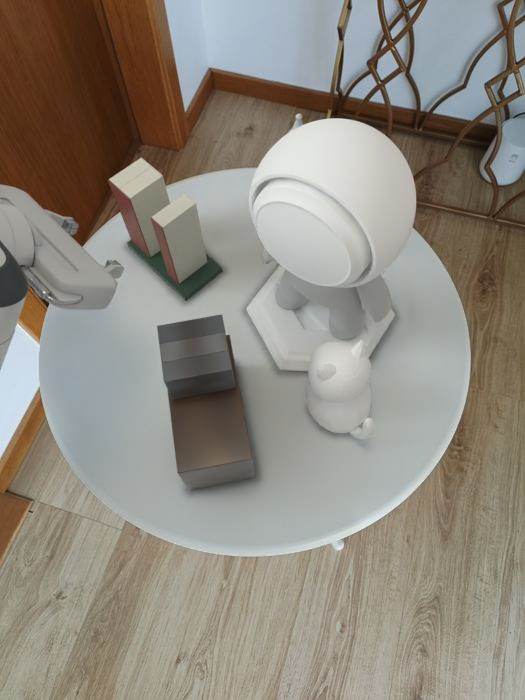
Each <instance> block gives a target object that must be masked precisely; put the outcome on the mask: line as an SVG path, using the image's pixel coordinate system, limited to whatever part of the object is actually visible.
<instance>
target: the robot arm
mask: <svg viewBox="0 0 525 700" xmlns="http://www.w3.org/2000/svg"><path fill="white" fill-rule="evenodd" d="M79 228H80V224H79V223H78V222H77V221H76V220H75V219H74V218H73V217H72V216H62V215H61V214H58V213H55V212H53V211H51V210H49V209H45V208H43V207H42V206H41V205H40V204H39V203H38V202H37V201H36V200H35V199H34V198H33V197H32V196H31V195H30V194H29V193H28V192H26V191H25V190H22V189H20V188H18V187H15V186H11V185H7V184H1V183H0V371H1V370H2V368H3V366H4V365H3V364H4V363H5V362H4V361H5V358H6V356H7V354H8V351H9V348H10V345H11V342H12V340H13V337H14V336H15V335H14V334H15V332H16V328H17V325H18V323H19V319H20V317H21V314H22V312H23V308H24V305H25V303H26V299H27V294H28V292H29V286H30V287H31V288H32V289H33V290H34V292H35V293H36V295H37V296H38V297H39V298H41V299H42V300H44V301H46V302H47V303H48V304H50V305H51V306H53V307H56V308H59V309H63V310H71V311H72V310H73V311H98V310H99V311H100V310H105V309H107V308H108V307H109V305H110V304H111V302H112V301H113V299H114V296H115V294H116V291H117V288H118V281H117V279H120V278H121V277H122V275H123V274H124V273H123V272H124V271H125V267H124V266H123V265H122V264H121V263H120V262H119V261H117V260H116V259H114V260H113V259H107V260H106V262H105V265H103V264H100V263H99V262H98V261H97V260H96V259H95V258H94V257H93V256H92V255H91V254H90V253H89V252H88V251H87V250H86V249H85V248H84V247H83V246H82V245H81V244H80V243H79V242H78V241H77V240H76V239H74V237H72V236H74V235H76V234H77V233H78V229H79Z"/></svg>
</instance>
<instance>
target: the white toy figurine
mask: <svg viewBox="0 0 525 700" xmlns="http://www.w3.org/2000/svg"><path fill="white" fill-rule="evenodd" d="M288 132H289V131H288ZM288 132H287V133H286V134H285V135H284V136H282V137H281V138H280V139H278V140H277V141H276V142H275V143H274V144H273V145H272V147H270V149H269V150H268V151H267V152H266V154H265V155H264V157H262V159H261V161H260V163H259V164H258V166H257V168H256V170H255V172H254V175H253V176H252V181H251V183H250V187H249V192H248V209H249V215H250V218H251V220H252V223H253V225H254V227H255V231H256V233H257V236H258V238H259V240H260V242H261V243H262V244H261V245H263V247H264V248H263V251H262V260H263V263H264V264H265V265H268V264H270V263H271V262H276V263H277V265H278V266H277V267H276V269H275V271H273V273H272V274H271V275H270V277H269V278H268V279H267V281H266V282H265V283H264V284H263V286H262V287H261V288H260V290H259V291H258V292H257V294H255V296H254V297H253V299H252V300H251V301H250V302H249V304H248V305H247V306H246V309H245V310H246V312H247V314H248V316H249V318H250V320H251V322H252V323H253V325H254V326H255V328H256V330H257V332H258V334H259V335H260V338H261V339H262V341H263V343H264V345H265V346H266V348H267V350H268V352H269V353H270V356H271V357H272V359H273V361H274V362H275V364H276V366H277V368H278V369H279V371H287V372H289V371H290V372H307V373H308V371H309V364H310V359H311V356H312V354H313V352H314V351H315V349H316V348H317V347H318V346H320V345H321V344H323V343H326V342H330V341H338V342H348V343H351V344H354V345H355V344H356V343H357V342H358V341H360V340H362V341H364V342H365V345H366V355H367V356H368V358H369V359H370V357H371V355H372V353H373V352H374V350H375V348H376V347H377V345H378V344H379V342H380V341H381V339H382V338H383V336H384V334H385V333H386V331H387V330H388V328H389V326H390V325H391V323H392V321H394V318H395V317H396V314H395V312H394V310H393V309H392V296H391V292H390V289H389V287H388V285H387V283H386V281H385V280H384V278H383V276H382V275H381V274H382V273H383V272H385V271H386V270H387V269H389V267H390V266H391V265H392V264H393V263H395V261H396V259H398V257H399V256H400V254H401V253H402V251H403V249H404V248H405V246H406V244H407V242H408V241H409V238H410V235H411V233H412V230H413V227H414V223H415V218H416V212H417V190H416V189H417V188H416V184H415V180H414V179H415V178H414V176H413V172H412V171H411V168H410V165H409V164H408V161H407V159H406V157H405V156H404V155H403V153H402V151H401V150H400V148H399V147H398V146H397V145H396V144H395V143H394V142H393V141H392V140H391V138H389V137H388V136H386V135H385V134H384V133H383V132H382V131H380V130H378V129H377V128H375V127H373V126H371V125H369V124H367V123H365V122H362V121H358V120H354V119H348V118H338V117H337V118H335V117H333V118H332V117H331V118H323V119H318V120H314V121H310V122H308V123H305V124H304V123H303V125H302V126H300V127H298V128H296V129H294V130H292V131H291V132H289V133H288Z"/></svg>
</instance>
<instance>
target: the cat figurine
mask: <svg viewBox="0 0 525 700" xmlns="http://www.w3.org/2000/svg"><path fill="white" fill-rule="evenodd" d="M372 370H373V368H372V363H371V360H370V357H369V358H368V356H367V355H366V345H365V342H364V341H362V340H360V341H358V342H357V343H356V344H355V345H354V344H351V343H348V342H338V341H330V342H326V343H323V344H321V345H320V346H318V347H317V348H316V349H315V351H314V352H313V354H312V356H311V359H310V364H309V371H308V372H307V377H308V382H309V384H308V385H307V388H306V393H305V403H306V407H307V410H308V413H309V414H310V415H311V417H312V419H313V420H314V421H315V422H316V423H317V424H318V425H319V426H321V427H322V428H324V429H325V430H327V431H329V432H331V433H336V434H347V433H349V434H350V435H351V436H352V437H353V438H355V439H357V440H367V439H369V438H371V437H372V436H373V435H374V432H375V430H376V429H375V428H376V425H375V421H374V420H373V419H372V417H369V416H370V413H371V406H372V399H373V398H372V397H373V396H372V390H371V386H370V380H371V377H372ZM360 425H362V427H360Z"/></svg>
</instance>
